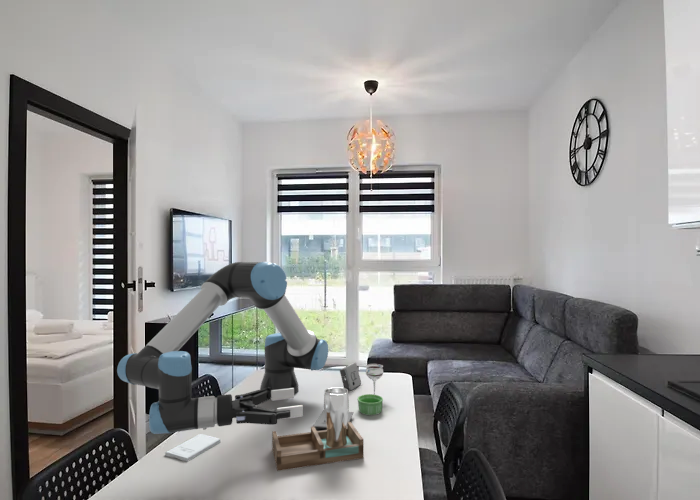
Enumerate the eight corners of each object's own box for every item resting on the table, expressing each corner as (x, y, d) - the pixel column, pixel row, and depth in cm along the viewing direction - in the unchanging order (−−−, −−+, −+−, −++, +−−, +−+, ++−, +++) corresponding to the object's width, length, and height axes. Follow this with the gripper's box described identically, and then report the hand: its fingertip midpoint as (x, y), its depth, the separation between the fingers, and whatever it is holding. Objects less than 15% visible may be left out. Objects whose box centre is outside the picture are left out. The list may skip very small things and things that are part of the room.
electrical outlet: (345, 435, 124) (345, 427, 124) (312, 432, 126) (312, 424, 126) (353, 418, 137) (353, 411, 137) (323, 416, 139) (323, 409, 139)
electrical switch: (351, 391, 164) (349, 367, 164) (340, 390, 166) (338, 367, 167) (361, 384, 172) (359, 362, 173) (351, 384, 174) (349, 362, 175)
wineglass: (371, 393, 161) (371, 362, 161) (386, 396, 157) (386, 365, 157) (362, 398, 155) (362, 366, 155) (377, 401, 151) (377, 369, 152)
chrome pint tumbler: (323, 439, 117) (323, 387, 117) (347, 438, 117) (347, 386, 117) (324, 451, 110) (324, 395, 110) (349, 450, 110) (349, 394, 110)
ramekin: (357, 406, 147) (357, 393, 148) (382, 406, 147) (382, 394, 147) (357, 415, 139) (357, 402, 139) (383, 416, 138) (383, 403, 138)
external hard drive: (220, 444, 119) (187, 463, 108) (199, 438, 122) (165, 457, 111) (220, 438, 119) (187, 457, 108) (199, 433, 122) (165, 451, 111)
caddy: (272, 449, 114) (272, 431, 114) (350, 438, 121) (350, 421, 121) (277, 471, 102) (277, 451, 103) (363, 458, 109) (363, 439, 109)
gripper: (217, 407, 117) (291, 399, 123) (215, 448, 93) (306, 434, 99) (217, 381, 117) (290, 374, 123) (215, 415, 93) (306, 404, 99)
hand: (298, 401), depth 111 cm, fingers open, 13 cm apart
